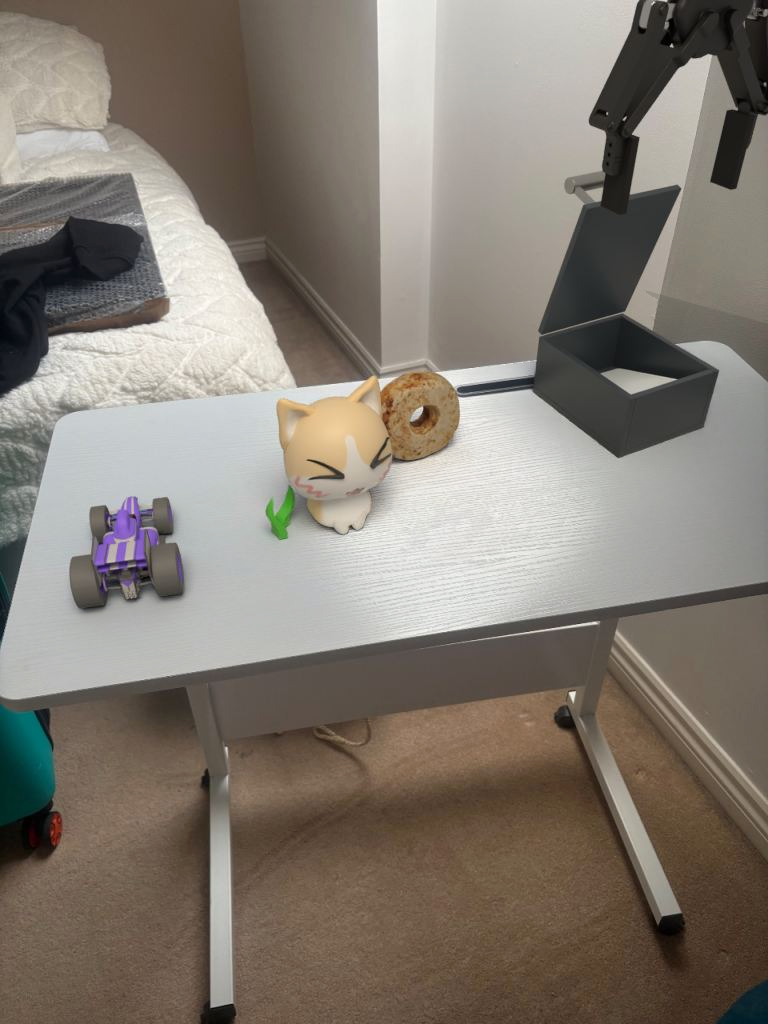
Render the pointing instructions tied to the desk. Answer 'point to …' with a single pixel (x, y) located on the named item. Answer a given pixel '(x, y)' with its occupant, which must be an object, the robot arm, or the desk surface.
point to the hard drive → (635, 380)
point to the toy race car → (127, 553)
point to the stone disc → (432, 423)
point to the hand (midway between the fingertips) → (669, 197)
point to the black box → (607, 407)
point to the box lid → (605, 254)
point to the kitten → (333, 457)
